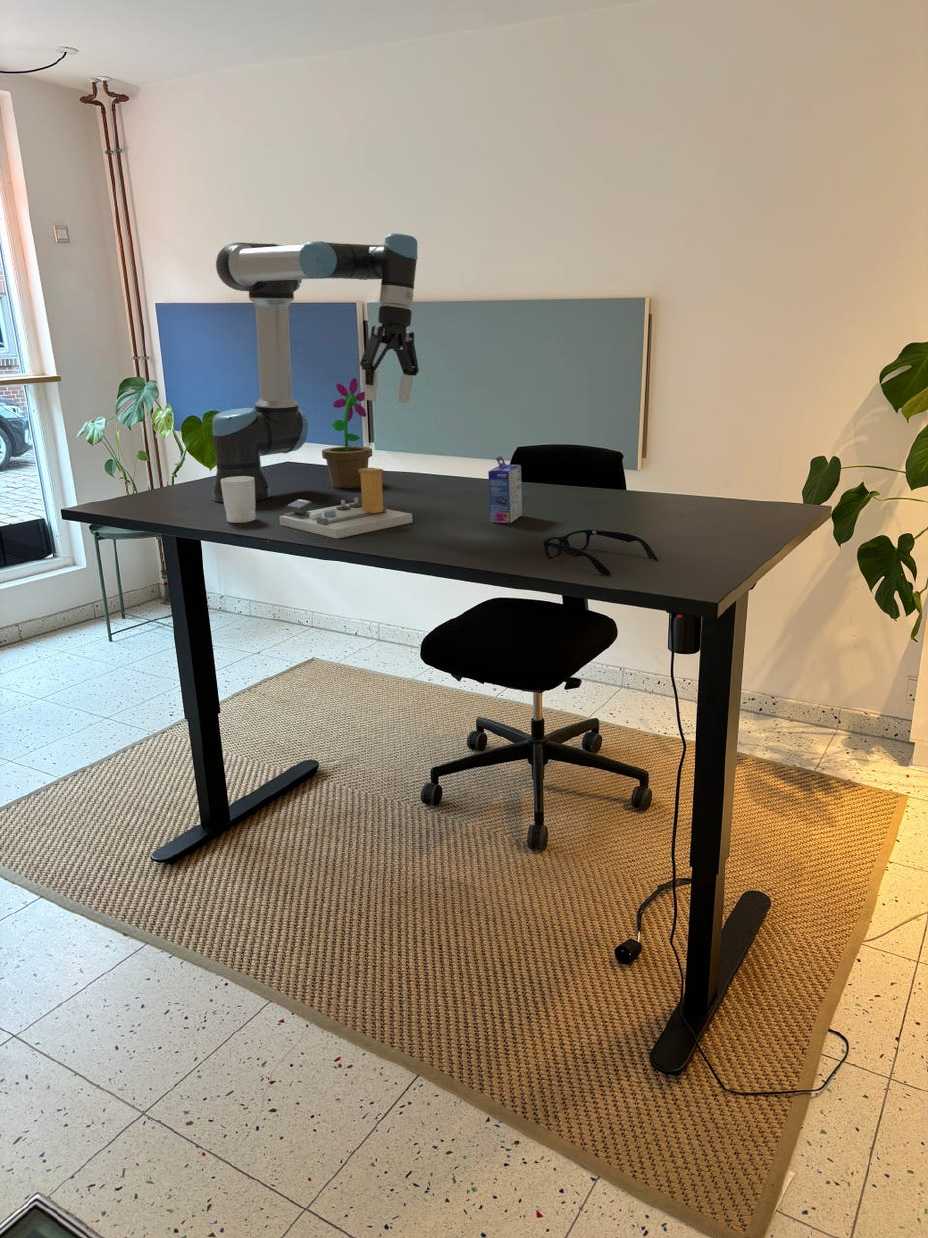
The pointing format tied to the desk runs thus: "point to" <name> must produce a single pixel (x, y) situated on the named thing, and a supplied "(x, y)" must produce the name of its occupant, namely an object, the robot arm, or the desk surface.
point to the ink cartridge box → (505, 492)
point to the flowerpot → (347, 458)
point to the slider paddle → (371, 489)
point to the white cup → (239, 498)
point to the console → (344, 520)
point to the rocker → (300, 506)
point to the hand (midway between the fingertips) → (387, 401)
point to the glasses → (578, 552)
